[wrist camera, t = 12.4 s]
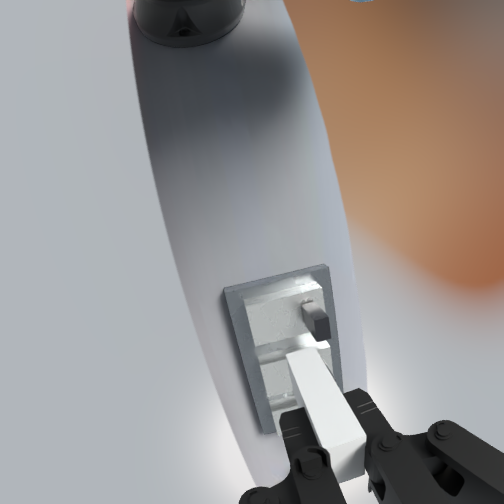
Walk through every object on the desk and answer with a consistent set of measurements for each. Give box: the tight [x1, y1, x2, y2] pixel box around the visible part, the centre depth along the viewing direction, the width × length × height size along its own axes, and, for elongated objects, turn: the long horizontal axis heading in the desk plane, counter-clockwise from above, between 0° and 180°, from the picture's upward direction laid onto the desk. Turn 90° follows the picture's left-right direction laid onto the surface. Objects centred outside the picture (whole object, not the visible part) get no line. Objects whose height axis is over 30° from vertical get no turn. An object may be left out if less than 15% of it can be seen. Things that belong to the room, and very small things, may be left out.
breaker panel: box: [224, 264, 343, 436], centre depth 36 cm, size 24×13×10 cm, turn 12°
